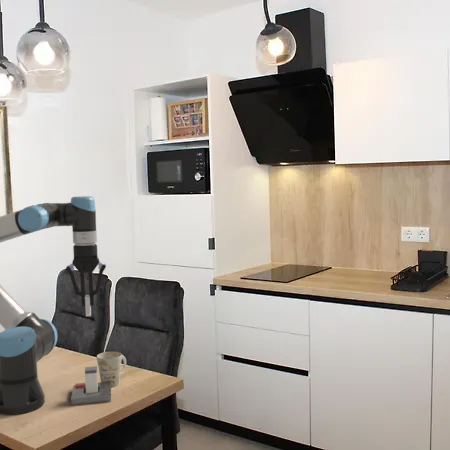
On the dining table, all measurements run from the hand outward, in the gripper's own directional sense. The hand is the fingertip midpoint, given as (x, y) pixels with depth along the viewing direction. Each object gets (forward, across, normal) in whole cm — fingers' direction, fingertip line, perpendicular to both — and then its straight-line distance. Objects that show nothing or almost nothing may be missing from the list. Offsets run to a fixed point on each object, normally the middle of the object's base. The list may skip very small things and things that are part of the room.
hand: (88, 315), depth 190 cm
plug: (+25, 0, -6) cm, 26 cm away
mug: (+25, +7, +6) cm, 27 cm away
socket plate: (+25, 0, -5) cm, 26 cm away
